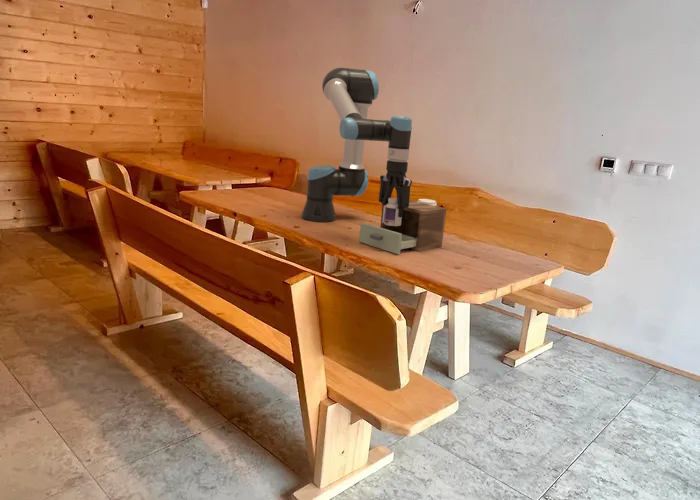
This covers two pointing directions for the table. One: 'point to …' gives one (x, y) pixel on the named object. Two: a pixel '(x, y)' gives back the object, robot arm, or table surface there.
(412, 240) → the drawer
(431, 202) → the coffee cup
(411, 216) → the housing
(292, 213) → the table surface
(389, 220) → the pill bottle
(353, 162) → the robot arm
